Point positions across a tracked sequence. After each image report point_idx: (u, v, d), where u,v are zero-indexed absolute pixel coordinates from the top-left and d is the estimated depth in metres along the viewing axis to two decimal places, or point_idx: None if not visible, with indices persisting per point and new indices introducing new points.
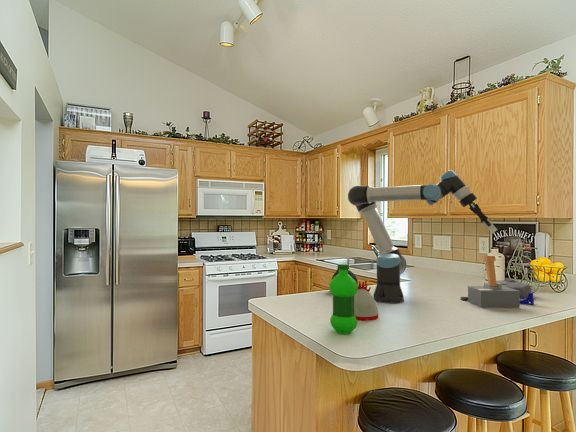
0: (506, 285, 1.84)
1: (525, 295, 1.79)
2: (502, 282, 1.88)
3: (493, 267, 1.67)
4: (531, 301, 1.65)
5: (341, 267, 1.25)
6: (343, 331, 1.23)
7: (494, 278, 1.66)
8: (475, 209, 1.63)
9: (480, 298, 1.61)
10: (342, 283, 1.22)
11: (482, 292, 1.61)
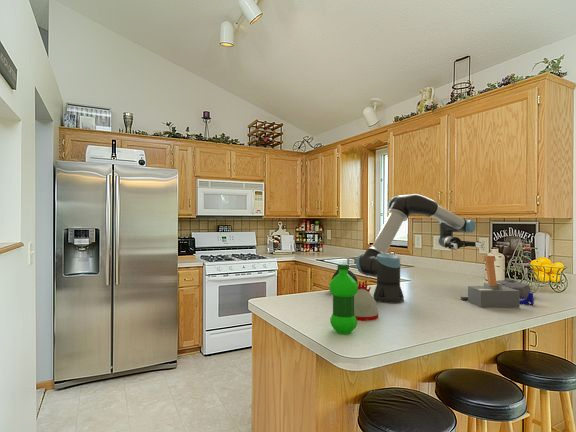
0: (506, 285, 1.85)
1: (525, 295, 1.80)
2: (502, 282, 1.88)
3: (493, 267, 1.67)
4: (531, 301, 1.65)
5: (341, 267, 1.25)
6: (343, 331, 1.23)
7: (494, 278, 1.66)
8: None
9: (480, 298, 1.61)
10: (342, 283, 1.22)
11: (482, 292, 1.61)
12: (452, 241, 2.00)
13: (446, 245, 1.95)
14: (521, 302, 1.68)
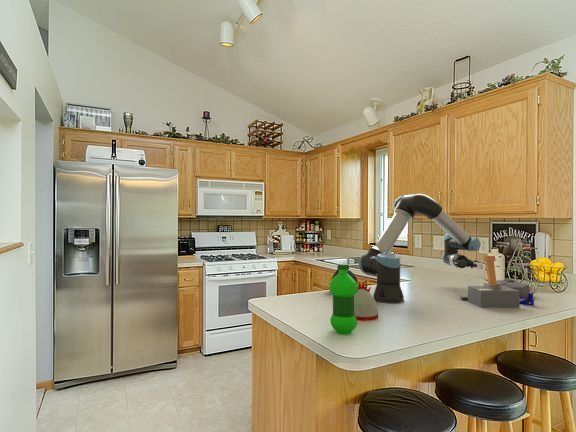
0: (505, 285, 1.85)
1: (524, 295, 1.80)
2: (501, 282, 1.88)
3: (493, 267, 1.67)
4: (531, 301, 1.64)
5: (341, 267, 1.25)
6: (343, 331, 1.23)
7: (494, 278, 1.66)
8: None
9: (480, 298, 1.61)
10: (342, 283, 1.22)
11: (482, 292, 1.61)
12: (464, 260, 1.91)
13: (468, 264, 1.84)
14: (521, 302, 1.67)
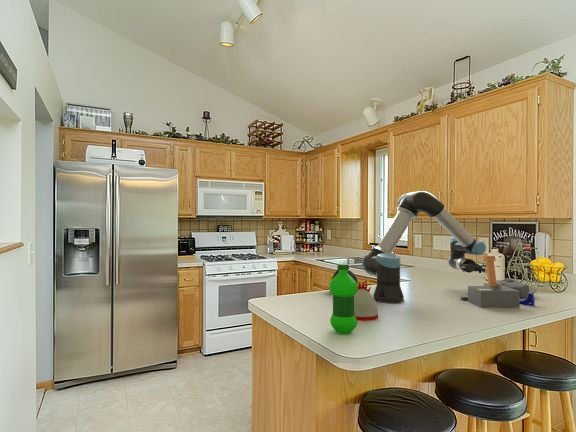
0: (504, 285, 1.85)
1: (523, 295, 1.80)
2: (500, 282, 1.89)
3: (493, 267, 1.67)
4: (531, 302, 1.64)
5: (341, 267, 1.25)
6: (343, 331, 1.23)
7: (494, 278, 1.66)
8: None
9: (480, 298, 1.61)
10: (342, 283, 1.22)
11: (482, 292, 1.61)
12: (472, 264, 1.83)
13: (476, 269, 1.77)
14: (521, 302, 1.67)
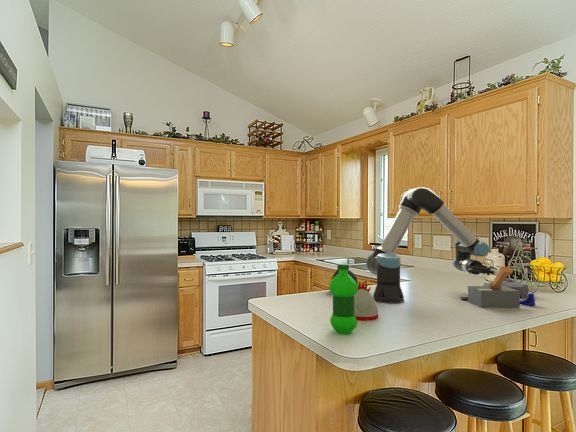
0: (504, 285, 1.85)
1: (523, 295, 1.80)
2: None
3: (504, 278, 1.59)
4: (531, 302, 1.63)
5: (341, 267, 1.25)
6: (343, 331, 1.23)
7: (499, 284, 1.62)
8: None
9: (480, 298, 1.61)
10: (342, 283, 1.22)
11: (482, 292, 1.61)
12: (479, 266, 1.75)
13: (484, 271, 1.69)
14: (521, 303, 1.66)
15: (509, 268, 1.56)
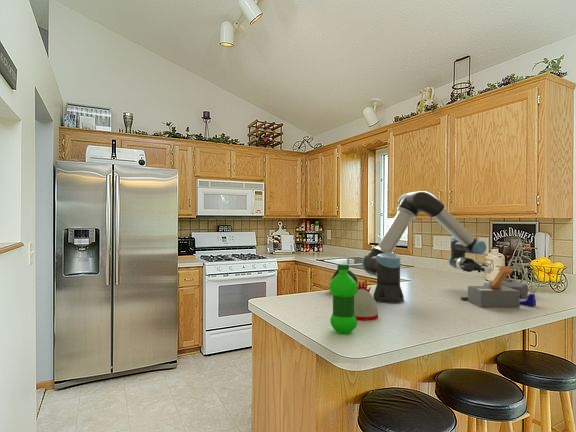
0: (504, 285, 1.85)
1: (522, 295, 1.81)
2: None
3: (504, 277, 1.59)
4: (531, 302, 1.63)
5: (341, 267, 1.25)
6: (343, 331, 1.23)
7: (499, 284, 1.62)
8: None
9: (480, 298, 1.61)
10: (342, 283, 1.22)
11: (482, 292, 1.61)
12: (471, 263, 1.83)
13: (475, 268, 1.77)
14: (522, 303, 1.66)
15: (509, 268, 1.56)
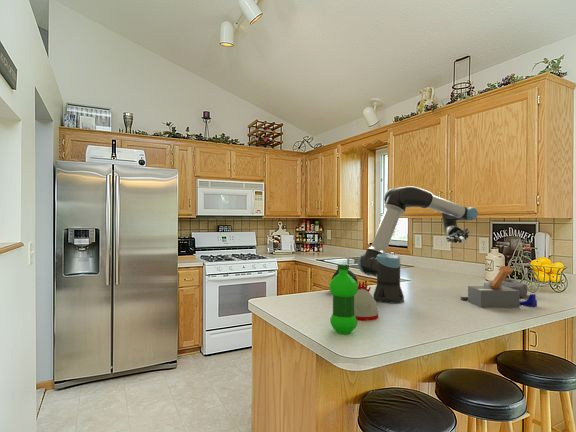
0: (503, 285, 1.86)
1: (522, 294, 1.81)
2: None
3: (504, 277, 1.59)
4: (532, 303, 1.62)
5: (341, 267, 1.25)
6: (343, 331, 1.23)
7: (499, 284, 1.62)
8: (467, 231, 1.92)
9: (480, 298, 1.61)
10: (342, 283, 1.22)
11: (482, 292, 1.61)
12: (453, 234, 1.94)
13: (455, 240, 1.88)
14: (522, 303, 1.65)
15: (509, 268, 1.56)
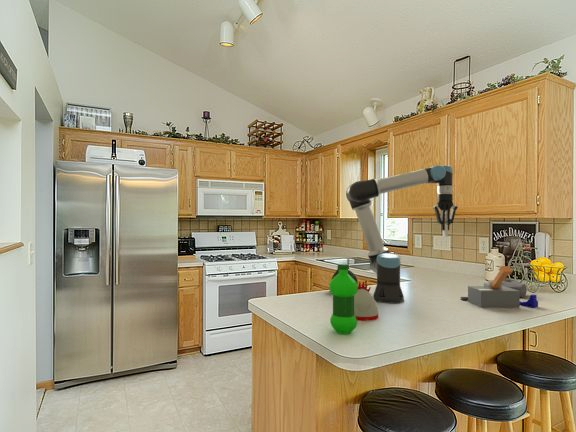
0: (503, 285, 1.86)
1: (522, 294, 1.81)
2: None
3: (504, 277, 1.59)
4: (532, 303, 1.61)
5: (341, 267, 1.25)
6: (343, 331, 1.23)
7: (499, 284, 1.62)
8: (435, 212, 1.89)
9: (480, 298, 1.61)
10: (342, 283, 1.22)
11: (482, 292, 1.61)
12: None
13: (450, 223, 1.89)
14: (523, 304, 1.64)
15: (509, 268, 1.56)
